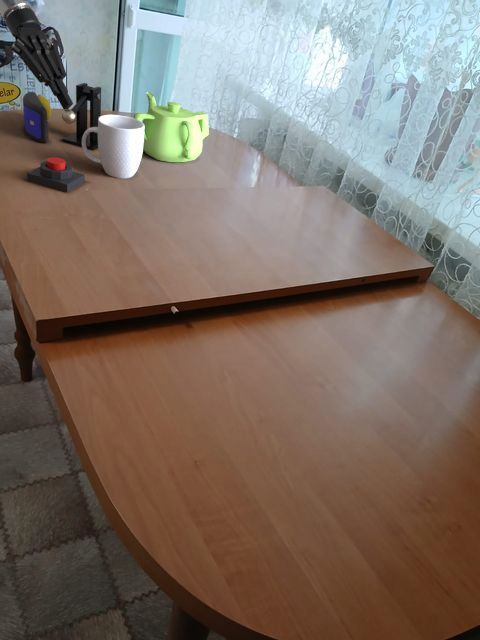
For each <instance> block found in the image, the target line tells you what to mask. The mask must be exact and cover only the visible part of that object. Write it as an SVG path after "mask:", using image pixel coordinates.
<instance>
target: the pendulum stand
mask: <svg viewBox="0 0 480 640" xmlns="http://www.w3.org/2000/svg"><path fill="white" fill-rule="evenodd" d="M86 86H89V85H88V83H87V82H83V83H78V84H76V85H75V104H76V103H77V102H78V101H79V100H80V99H81V97H82V96H83V95H82V90H83V89H84V88H85V87H86ZM88 102H89V128H91V127H98V118H99V117H100V116H102V87H101V86H96V87H94V88H92V89H90V101H88V100H87V101H86V102H85V103H84V104H83V106H82V107H81V108H80V109H79V110H78V112H77V113H76V114H75V115H76V120H75V125H76V126H75V127H76V129H75V130H76V132H75V133H73V134H71V135H68V136H66V137H63V138H62V143H65V144H69V145H72V146H76V147H79V148H82V137H83V134H84V133H85V131H86V130H87V129H88ZM86 147H87V150H88V151H89V150H90V151H95V150H97V149H98V134H97V133H95V132H90V133H89V134H88V135H87V138H86Z"/></svg>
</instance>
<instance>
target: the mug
mask: <svg viewBox="0 0 480 640" xmlns="http://www.w3.org/2000/svg"><path fill="white" fill-rule="evenodd" d="M90 132H95V133H97V134H98V148H97V149H98V156H99V158H98V157H95V156H94V155H92V154H91V153H90V152H89V149H87V147H86V138H87V135H88V134H89V133H90ZM143 143H144V124H143V123H142V122H141V121H139V120H137V119H134V117H131V116H127V115H121V114H105V115H101V116H100V117H99V118H98V127H91V128H90V127H88V128H87V130H86V131H85V133H84V134H83V137H82V147H81V149H82V151H83V154H84V155H85V156H86V158H87V159H89V160H90V161H91V162H94V163H97V164H99V165H101V166H102V169H103V170H104V172H105V173H106V175H108V176H110V177H113V178H117V179H129V178H132V177H134V176H135V174H136V172H137V171H138V169H139V167H140V164H141V161H142V158H143V152H144V151H143Z"/></svg>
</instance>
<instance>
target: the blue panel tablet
mask: <svg viewBox="0 0 480 640" xmlns="http://www.w3.org/2000/svg"><path fill="white" fill-rule="evenodd" d="M22 110H23V125H24V126H23V127H24V132H25V134H26V135H27V136H28V137H29V138H30V139H31V140H33V141H35V142H37V143H40V144H47V143H48V142H49V125H48V124H49V123H48V120H47V111H46V108H45V107H44V105H43V104H42V102H41V101H40V99H39V98H38V94H37V93H36V92H34V91H28V92H26V93H25V94H24V95H23V96H22Z"/></svg>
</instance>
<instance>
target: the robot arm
mask: <svg viewBox="0 0 480 640" xmlns="http://www.w3.org/2000/svg"><path fill="white" fill-rule="evenodd" d="M35 1H36V0H0V16H1V17H2V18H3V20H4V22H5V25H6V27H7V29H8V31H9V32H10V34H11V36H12V37H13V38H14V42H13V43H12V45H11V46H10V49H11V50H12V51H13V52H14V53H15V54H17V56H18V57H19V58H20V59H21V60H22V61H23V63H24V64H25V66H26V67H27V69H28V70H29V71H30V72H31V74H32V75H33V76H34V78H35V79H36V80H37V82H39V83H41V84H43V83H44V84H43V85H44V86H45V87H49V89H50V91H51V93H52V95H53V96H54V97H56V99H57V100H58V102H59V104H60V106H61V108H62V110H63V111H65V110H70V108H71V107H72V106H73V105H74V102H73V100H72V98H71V96H70V95H69V89H68V88H67V86H66V84H65V82H64V79H65V78H66V77H67V72H66V69H65V66H64V63H63V60H62V56H61V55H60V50H59V42H58V41H57V40H56V39H54V40H51V39H49V38H48V37H47V35H46V34H45V32H43V30H42V25H41V22H40V20H39V18H38V16H37V14H36V13H35V11H34V10H33V7H32V5H31V3H32V2H35Z"/></svg>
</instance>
